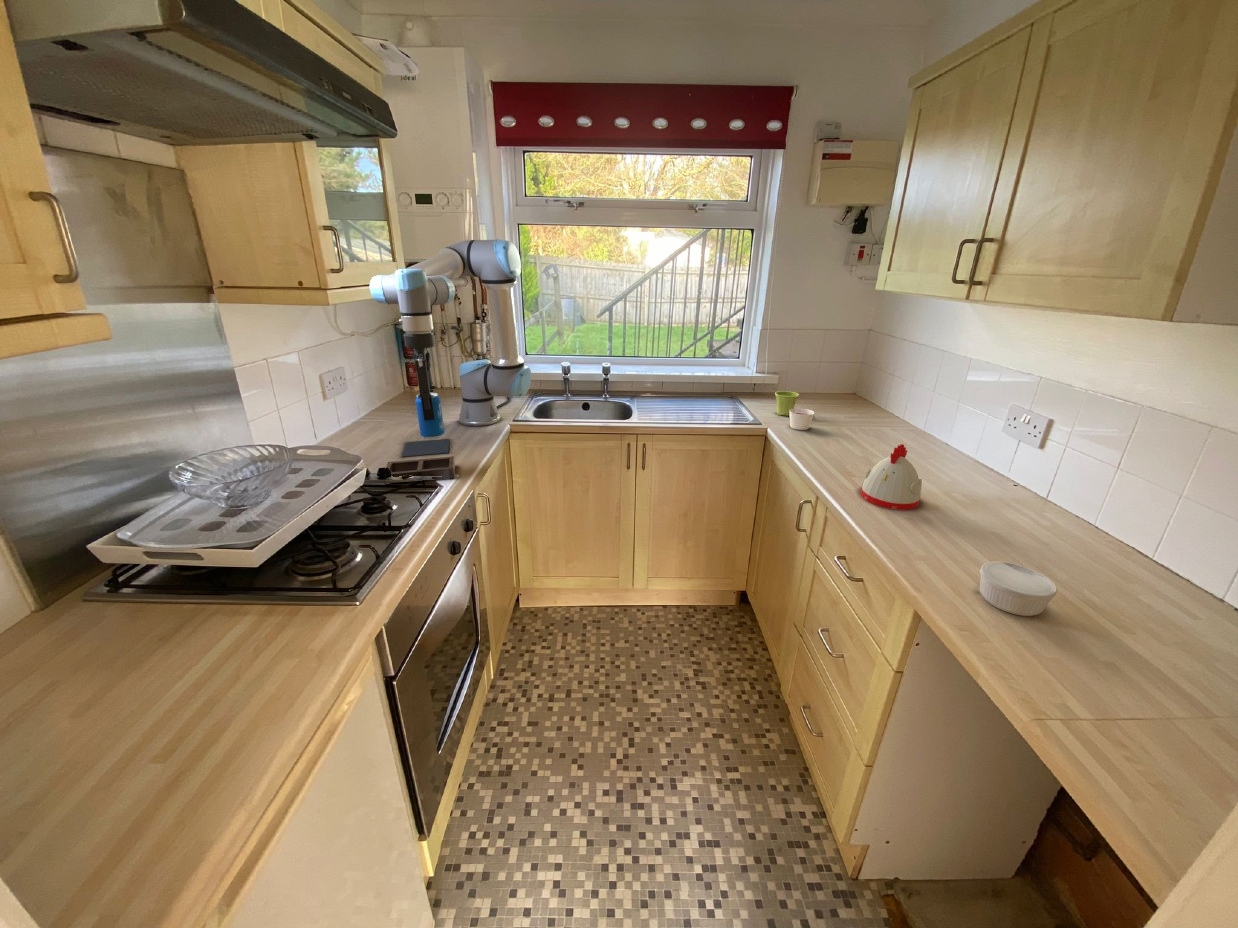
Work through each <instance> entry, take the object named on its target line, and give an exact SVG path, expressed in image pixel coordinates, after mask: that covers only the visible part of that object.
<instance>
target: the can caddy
mask: <svg viewBox="0 0 1238 928" xmlns="http://www.w3.org/2000/svg"><path fill="white" fill-rule="evenodd" d="M386 468H389V470H391V471H392V472H391V474H392V476H393V477H399V476H403V475H412V476H442V477H432V479H436V480H435V481H443V480H453V479H455V478H456V477H455V476H456V475H455V474H456V463H455V456H445V457H442V456H441V457H430V458H420V459H408V460H397V461H388V462H387V463H386V466H385V469H386Z"/></svg>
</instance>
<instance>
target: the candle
mask: <svg viewBox="0 0 1238 928" xmlns="http://www.w3.org/2000/svg"><path fill="white" fill-rule="evenodd" d="M814 415H815V411H813V410H811V409H808V408H802V407H801V408H799V407H797V408H795V407H794V409H790V410H789V426H790V428H791V429H794V430H798V431H806V430H809V429H810V427H811V425H812V421H813V419H814Z"/></svg>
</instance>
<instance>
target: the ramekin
mask: <svg viewBox="0 0 1238 928" xmlns="http://www.w3.org/2000/svg"><path fill="white" fill-rule="evenodd" d="M979 574H980V577H979V579H980V580H979V592H980V594H981V596H982V597H983V599H984V600H985V601H986V602H987V603H988V604H990V605H992V606H993V607H995V608H997V609H999V610H1001V611H1004V612H1005V613H1008V614H1012V615H1016V616H1023V617H1033V616H1037V615H1039V614H1041V613H1043V611H1044V610H1045V609H1046V608H1047V606H1048V605H1049V604H1050V602H1051V600H1052V599H1054V598H1055V597H1056V595H1057V593H1058V588H1057V585H1056V584H1055V583H1054V581H1052V580H1051V579H1050V578H1048V577H1047V576H1046V575H1044V574H1042V573H1040V572H1039V571H1036V570H1033V569H1032V568H1030V567H1027V566H1024V565H1020V564H1017V563H1014V562H1013V563H1012V562H1009V561H1000V560H999V561H997V560H996V561H995V560H994V561H988V562H985V563H984V564H982V566H981V568H980V570H979Z"/></svg>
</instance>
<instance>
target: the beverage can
mask: <svg viewBox="0 0 1238 928" xmlns="http://www.w3.org/2000/svg"><path fill="white" fill-rule="evenodd" d="M419 394H420V393H418V394H416V398H415V407H416V415H417V420H418V427H419V434H420V437H422V438H424V439H425V440H437V439H440V438H441V437H443V435H445V423H444V418H443V409H442V403H441V402H442V401H441V397H440V395H439V393H437V392H433V393H430V394H431V396H432V403H433V410H434V417H435V420H426V421H424V416H423V409H422V402H421V398H418V395H419Z"/></svg>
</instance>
